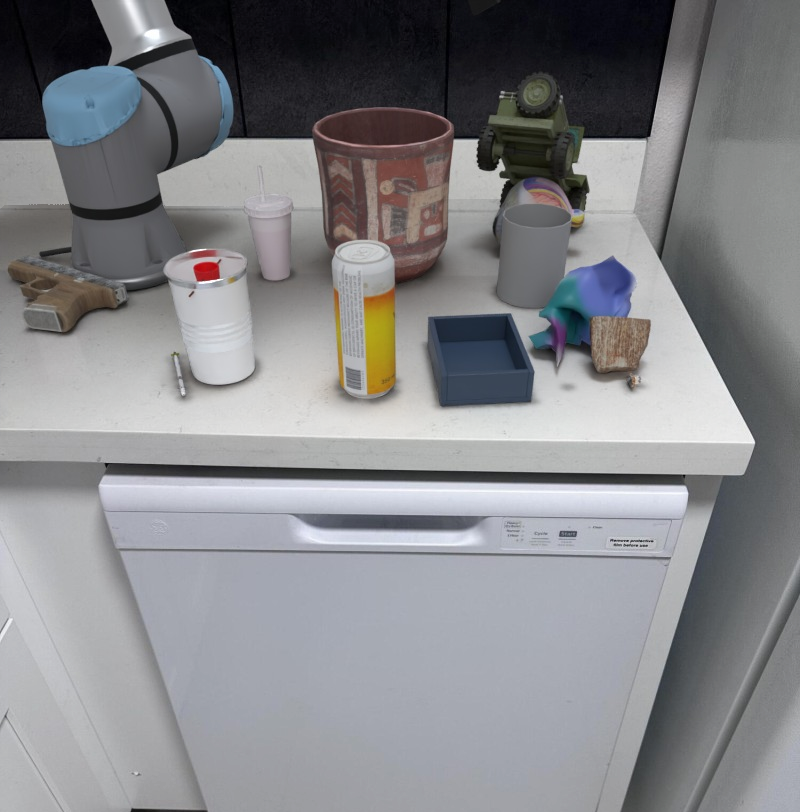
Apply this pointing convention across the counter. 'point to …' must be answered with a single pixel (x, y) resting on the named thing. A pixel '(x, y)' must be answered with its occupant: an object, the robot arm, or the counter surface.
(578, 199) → the toy jeep
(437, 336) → the bin
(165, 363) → the counter surface
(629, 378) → the figurine
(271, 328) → the counter surface
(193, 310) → the white ridged cylinder
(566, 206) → the anatomical model
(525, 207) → the cup
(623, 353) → the stone
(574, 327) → the figurine
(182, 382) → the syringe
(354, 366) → the beer can
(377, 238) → the pottery
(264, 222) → the smoothie
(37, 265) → the handgun
